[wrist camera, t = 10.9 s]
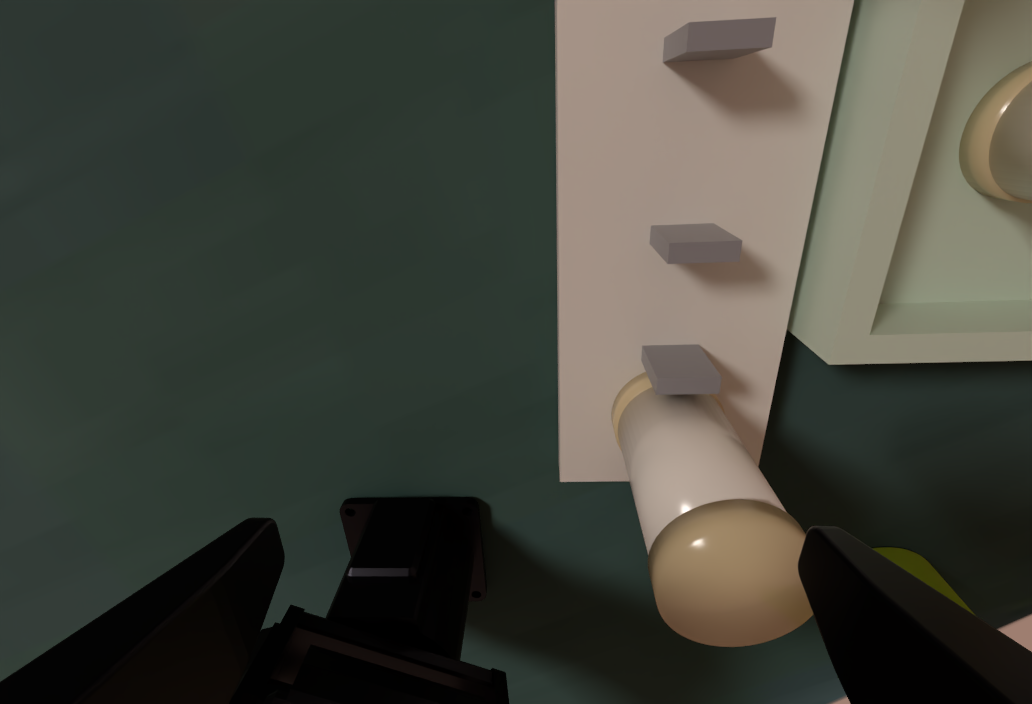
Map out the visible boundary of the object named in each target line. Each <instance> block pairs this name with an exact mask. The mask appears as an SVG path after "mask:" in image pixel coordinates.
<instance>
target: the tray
mask: <svg viewBox="0 0 1032 704" xmlns="http://www.w3.org/2000/svg"><path fill="white" fill-rule="evenodd" d="M1031 61H1032V0H854V3H853V8H852V13H851V18H850V23H849V28H848V33H847V37H846V42H845V47H844V52H843V57H842V62H841V67H840V72H839V76H838V81H837V86H836V91H835V96H834V101H833V106H832V110H831V115H830V120H829V125H828V130H827V135H826V140H825V145H824V149H823V154H822V159H821V164H820V169H819V174H818V179H817V184H816V188H815V193H814V198H813V203H812V208H811V213H810V218H809V222H808V227H807V232H806V237H805V242H804V247H803V252H802V257H801V261H800V266H799V271H798V276H797V281H796V286H795V291H794V295H793V300H792V305H791V310H790V315H789V320H788V325H787V330H788V331H789V332H791V333H792V334H793V335H794V336H795V337H797V338H798V339H799V340H800V341H801V342H803V343H804V344H805V345H806V346H807V347H808V348H810V349H811V350H812V351H813V352H814V353H816V354H817V355H818V356H819V357H820V358H821V359H823V360H824V361H825V362H826V363H827V364H829V365H841V364H888V363H936V362H983V361H1031V360H1032V203H1021V202H1015V201H1010V200H1004V199H998V198H993V197H988V196H985V195H983V194H981V193H979V192H977V191H976V190H974V189H973V188H972V187H971V186H970V185H969V184H968V183H967V182H966V180H965V178H964V176H963V174H962V171H961V168H960V163H959V147H960V141H961V137H962V133H963V131H964V128H965V125H966V123H967V121H968V119H969V117H970V115H971V114H972V112H973V110H974V109H975V107H976V106H977V104H978V103H979V102H980V100H981V99H982V98H983V97H984V95H985V94H986V93H987V92H988V91H989V90H990V89H991V88H992V87H993V86H994V85H995V84H996V83H997V82H999V81H1000V80H1001V79H1002V78H1004V77H1005V76H1006V75H1008V74H1009V73H1010V72H1012V71H1014V70H1015V69H1017V68H1019V67H1021V66H1023V65H1025V64H1027V63H1029V62H1031Z"/></svg>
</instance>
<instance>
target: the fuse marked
mask: <svg viewBox="0 0 1032 704" xmlns="http://www.w3.org/2000/svg"><path fill="white" fill-rule="evenodd" d="M959 163H960V168H961V171H962V174H963V176H964V178H965V180H966V182H967V183H968V184H969V185H970V186H971V187H972V188H973V189H974V190H976V191H977V192H979V193H981V194H983V195H985V196H988V197H993V198H998V199H1004V200H1010V201H1015V202H1021V203H1032V61H1031V62H1029V63H1027V64H1025V65H1023V66H1021V67H1019V68H1017V69H1015V70H1014V71H1012V72H1010V73H1009V74H1008V75H1006V76H1005V77H1004V78H1002V79H1001V80H1000V81H999V82H997V83H996V84H995V85H994V86H993V87H992V88H991V89H990V90H989V91H988V92H987V93H986V94H985V95H984V97H983V98H982V99H981V100H980V102H979V103H978V104H977V106H976V107H975V109H974V110H973V112H972V114H971V115H970V117H969V119H968V121H967V123H966V125H965V128H964V131H963V133H962V137H961V141H960V147H959Z"/></svg>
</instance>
